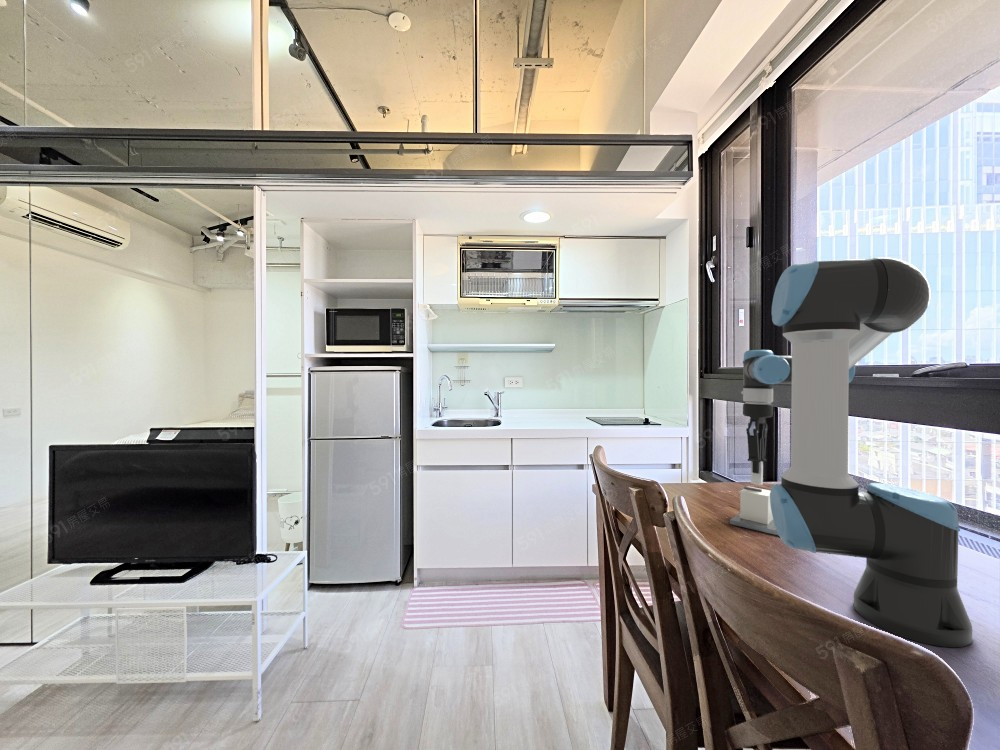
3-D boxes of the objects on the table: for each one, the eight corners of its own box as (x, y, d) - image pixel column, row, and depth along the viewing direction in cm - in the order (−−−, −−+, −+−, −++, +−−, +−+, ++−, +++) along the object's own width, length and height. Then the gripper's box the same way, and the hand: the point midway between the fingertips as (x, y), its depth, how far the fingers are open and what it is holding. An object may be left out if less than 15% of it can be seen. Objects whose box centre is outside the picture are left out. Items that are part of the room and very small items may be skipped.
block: (773, 518, 124) (774, 489, 124) (767, 524, 119) (768, 494, 119) (743, 511, 130) (744, 483, 130) (736, 517, 125) (737, 488, 125)
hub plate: (787, 537, 113) (787, 517, 113) (729, 523, 123) (730, 505, 123) (798, 524, 123) (798, 505, 123) (744, 512, 133) (744, 495, 133)
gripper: (749, 401, 131) (749, 477, 131) (736, 403, 122) (735, 485, 122) (778, 402, 126) (777, 482, 126) (766, 404, 117) (765, 490, 117)
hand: (756, 483), depth 124 cm, fingers closed
